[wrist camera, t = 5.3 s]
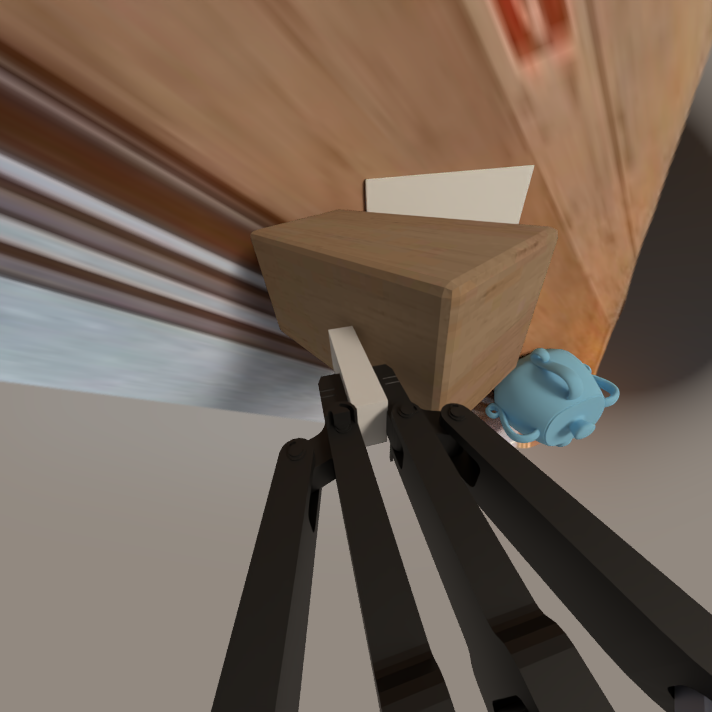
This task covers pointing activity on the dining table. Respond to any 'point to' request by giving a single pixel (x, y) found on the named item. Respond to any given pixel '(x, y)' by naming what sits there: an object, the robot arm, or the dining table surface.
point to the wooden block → (410, 294)
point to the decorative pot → (550, 398)
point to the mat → (453, 194)
